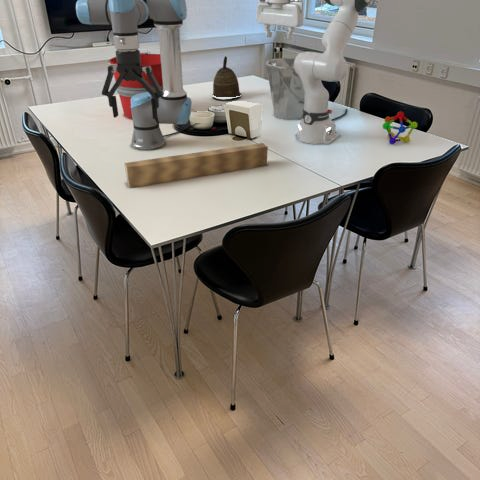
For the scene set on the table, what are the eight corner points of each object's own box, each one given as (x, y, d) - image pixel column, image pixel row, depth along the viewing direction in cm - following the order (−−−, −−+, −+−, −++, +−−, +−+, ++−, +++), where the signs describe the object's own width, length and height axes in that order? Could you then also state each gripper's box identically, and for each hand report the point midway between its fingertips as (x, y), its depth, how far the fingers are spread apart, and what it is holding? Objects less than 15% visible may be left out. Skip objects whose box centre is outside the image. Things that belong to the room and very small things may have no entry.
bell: (227, 105, 294) (202, 96, 282) (238, 66, 289) (213, 55, 277) (243, 108, 280) (217, 98, 268) (255, 66, 275) (229, 55, 263)
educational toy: (377, 146, 209) (379, 114, 202) (384, 138, 219) (386, 107, 211) (411, 149, 202) (415, 116, 195) (417, 141, 212) (420, 109, 204)
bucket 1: (123, 104, 265) (116, 50, 249) (181, 105, 264) (178, 51, 248) (106, 122, 236) (97, 62, 220) (172, 123, 235) (167, 63, 219)
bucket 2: (291, 126, 231) (295, 70, 216) (253, 114, 250) (254, 61, 235) (328, 115, 248) (333, 63, 233) (289, 104, 267) (292, 55, 252)
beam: (129, 187, 167) (126, 167, 163) (127, 182, 171) (124, 162, 167) (266, 165, 187) (267, 146, 182) (262, 161, 190) (262, 142, 186)
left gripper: (84, 50, 136) (95, 119, 148) (163, 52, 134) (168, 121, 146) (93, 46, 143) (103, 112, 154) (169, 48, 141) (174, 115, 152)
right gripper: (308, -2, 159) (305, 40, 166) (264, -5, 171) (263, 34, 178) (297, -1, 155) (295, 41, 162) (254, -4, 167) (253, 36, 174)
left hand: (135, 117), depth 150 cm, fingers open, 13 cm apart
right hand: (278, 38), depth 170 cm, fingers open, 8 cm apart
